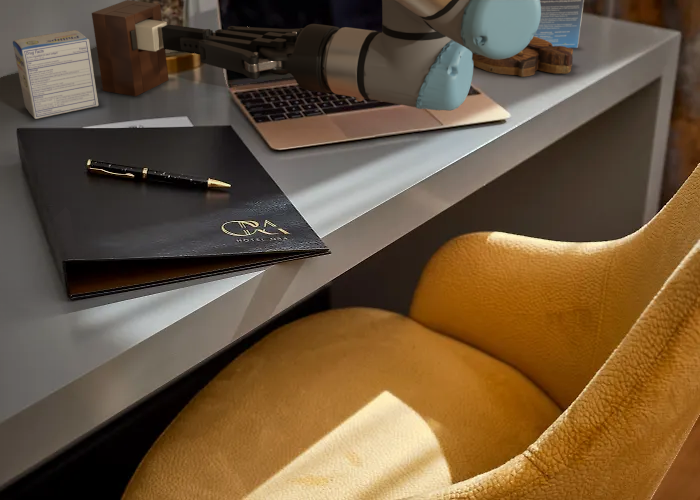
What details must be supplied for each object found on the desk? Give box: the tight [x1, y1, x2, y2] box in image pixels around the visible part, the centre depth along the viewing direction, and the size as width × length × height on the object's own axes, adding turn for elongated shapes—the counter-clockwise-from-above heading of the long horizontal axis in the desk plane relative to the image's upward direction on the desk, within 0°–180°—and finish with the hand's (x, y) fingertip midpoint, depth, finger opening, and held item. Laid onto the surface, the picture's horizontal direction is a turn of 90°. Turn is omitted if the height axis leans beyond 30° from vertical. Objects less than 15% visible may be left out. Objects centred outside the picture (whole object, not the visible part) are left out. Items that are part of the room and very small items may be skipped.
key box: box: [91, 0, 169, 97], centre depth 116 cm, size 5×7×10 cm
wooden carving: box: [472, 36, 574, 78], centre depth 124 cm, size 16×5×10 cm
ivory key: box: [135, 19, 168, 51], centre depth 114 cm, size 3×3×3 cm
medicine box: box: [12, 29, 99, 120], centre depth 109 cm, size 8×4×9 cm, turn 122°
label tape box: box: [534, 0, 585, 49], centre depth 129 cm, size 9×4×12 cm, turn 94°
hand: (166, 36), depth 113 cm, fingers closed
